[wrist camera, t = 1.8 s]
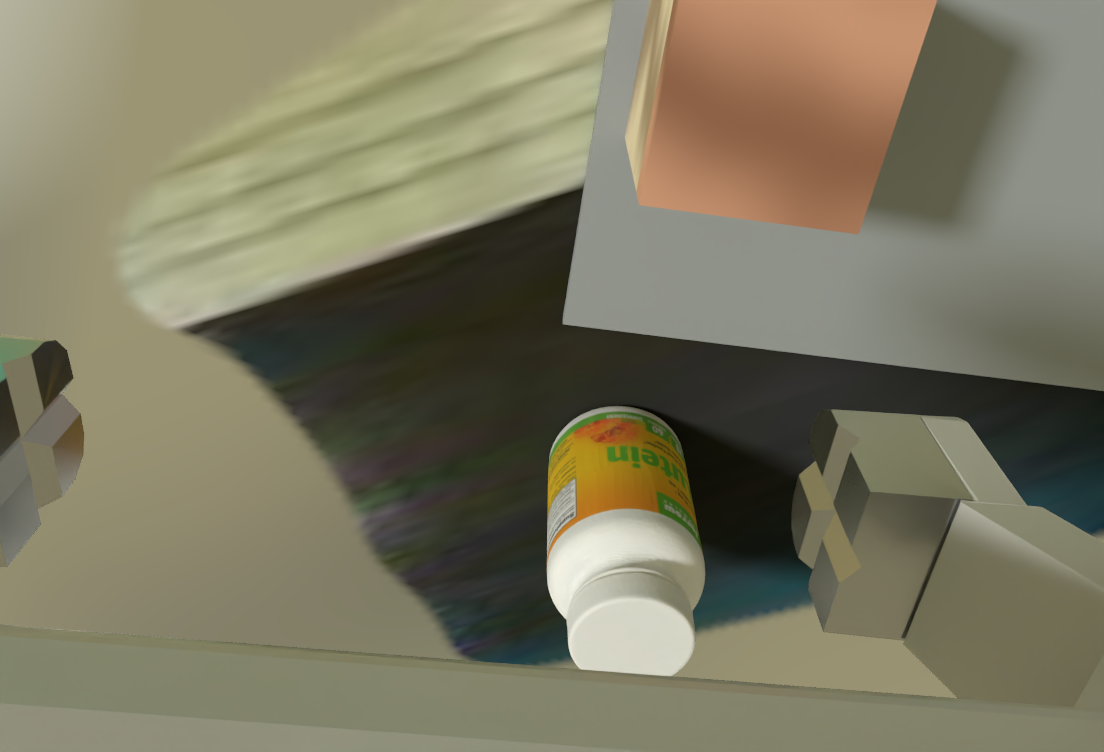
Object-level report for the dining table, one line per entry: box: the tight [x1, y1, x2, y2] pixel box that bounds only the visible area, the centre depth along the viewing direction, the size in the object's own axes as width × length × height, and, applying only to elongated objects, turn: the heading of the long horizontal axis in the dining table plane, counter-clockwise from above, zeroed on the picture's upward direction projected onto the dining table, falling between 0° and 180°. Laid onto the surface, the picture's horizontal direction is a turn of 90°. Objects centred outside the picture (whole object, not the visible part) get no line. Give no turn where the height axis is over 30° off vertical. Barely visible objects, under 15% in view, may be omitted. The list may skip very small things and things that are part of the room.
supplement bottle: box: [547, 406, 705, 676], centre depth 32 cm, size 5×5×10 cm
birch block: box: [625, 0, 937, 234], centre depth 25 cm, size 6×6×6 cm
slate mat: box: [563, 0, 1104, 391], centre depth 29 cm, size 20×24×1 cm
